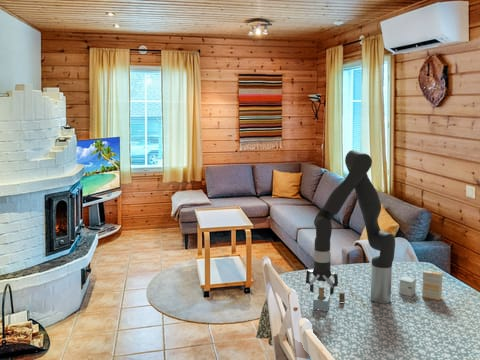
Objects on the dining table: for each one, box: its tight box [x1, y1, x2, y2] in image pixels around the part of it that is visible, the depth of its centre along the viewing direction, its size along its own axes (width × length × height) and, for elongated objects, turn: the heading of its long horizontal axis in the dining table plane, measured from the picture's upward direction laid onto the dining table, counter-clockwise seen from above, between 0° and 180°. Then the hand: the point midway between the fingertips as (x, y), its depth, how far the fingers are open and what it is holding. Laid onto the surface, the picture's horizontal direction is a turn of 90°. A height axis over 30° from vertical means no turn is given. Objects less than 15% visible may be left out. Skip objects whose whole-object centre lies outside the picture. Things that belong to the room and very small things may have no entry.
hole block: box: [312, 293, 331, 311], centre depth 204 cm, size 6×6×5 cm
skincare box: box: [398, 276, 417, 297], centre depth 219 cm, size 6×6×7 cm
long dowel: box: [318, 285, 325, 300], centre depth 203 cm, size 2×2×10 cm
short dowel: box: [338, 291, 346, 303], centre depth 210 cm, size 2×2×4 cm
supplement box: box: [421, 268, 444, 301], centre depth 213 cm, size 8×5×13 cm, turn 58°
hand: (321, 293), depth 203 cm, fingers open, 8 cm apart
